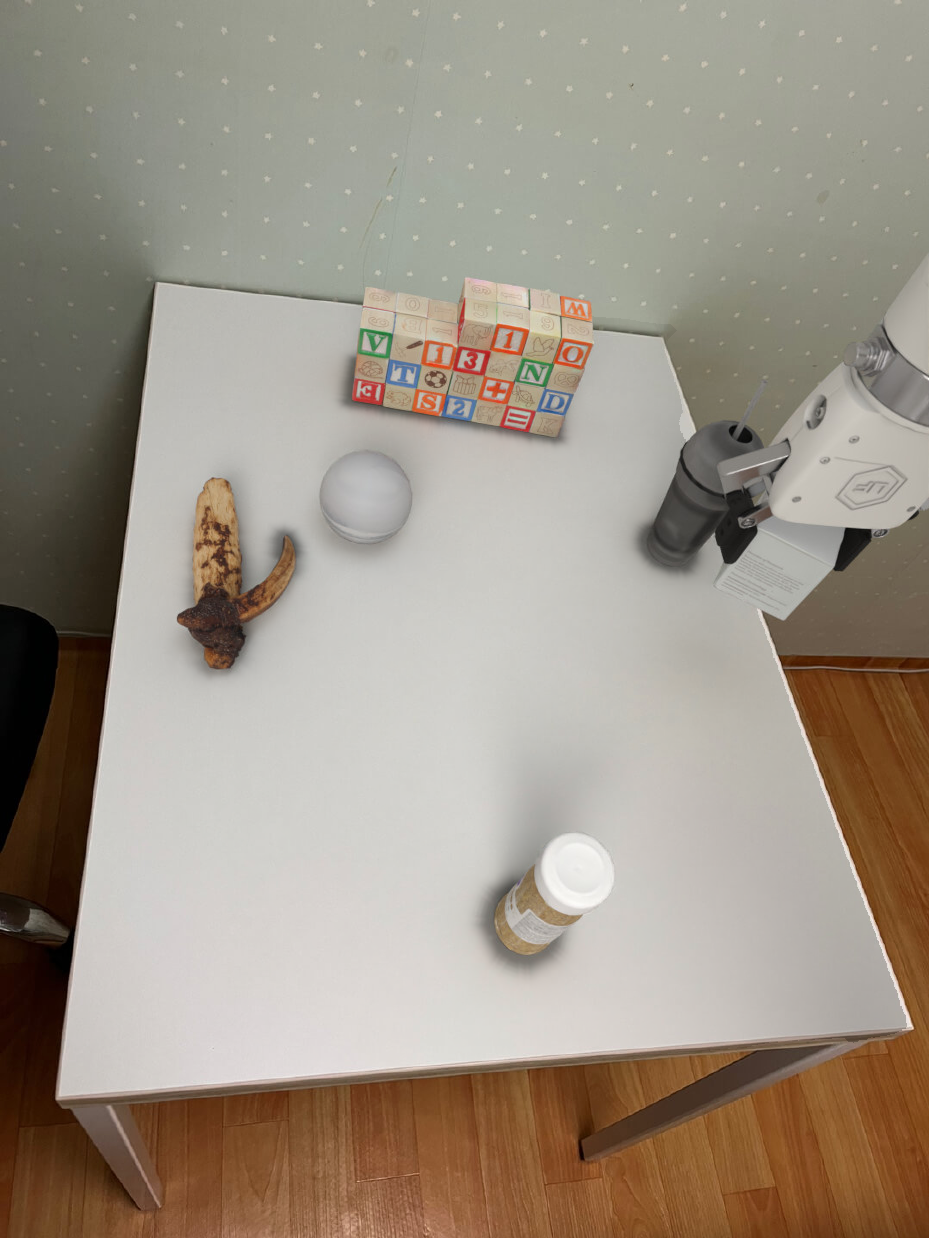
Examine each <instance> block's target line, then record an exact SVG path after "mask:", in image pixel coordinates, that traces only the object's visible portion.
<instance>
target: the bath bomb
mask: <svg viewBox="0 0 929 1238" xmlns="http://www.w3.org/2000/svg"><path fill="white" fill-rule="evenodd" d="M318 495H319V496H318V498H319V507H320V511H321V514H322V516H323V518H324V520H325V522H326V523H327V525H328V526H329V527H330V528H331V530H333V531H334V532H335V533H336V534H337V535H338V536H339V537H341V538H342V539H344V540H347V541H350V542H352V543H356V544H360V545H374V544H378V543H382V542H384V541H386V540H388V539H390V538H392V537H393V536H395V535H396V534H398V532H399V531H401V529H402V528H403V527H404V526H405V524H406V523H407V521H408V519H409V517H410V514H411V513H412V512H411V511H412V508H413V489H412V485H411V481H410V479H409V477H408V475H407V473H406V471H405V470H404V469H403V467H402V466H401V465H400V464H399V463H398V462H397V461H396V460H395V459H393V458H391V457H390V456H388V455H386V454H384V453H381V452H380V451H379V452H378V451H375V450H367V449H365V450H364V449H363V450H356V451H352V452H349V453H346V454H344V455H343V456H340V457H339V458H337V460H335V462H333V463H332V464H330V466H329V467H328V469H327V470H326V472H325V473H324V476H322V480H321V482H320V487H319V494H318Z"/></svg>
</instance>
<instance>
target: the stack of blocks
mask: <svg viewBox="0 0 929 1238" xmlns="http://www.w3.org/2000/svg"><path fill="white" fill-rule="evenodd" d="M594 341H595V340H594V324H593V312H592V302H591V301H589V300H585V299H581V298H580V299H579V298H575V297H570V296H565V295H560V293H558V292H553V291H548V290H543V289H538V288H527V287H524V286H519V285H514V284H508V283H507V284H506V283H502V282H498V283H497V282H494V281H490V280H484V279H479V278H473V277H467V276H465V277H464V280H463V284H462V287H461V292H460V295H459V300H458V302H457V303H456V302H450V301H445V300H441V299H435V298H430V297H426V296H422V295H415V294H410V293H405V292H401V291H398V292H397V291H392V290H388V289H383V288H378V287H372V286H365V289H364V296H363V303H362V310H361V317H360V323H359V330H358V336H357V346H356V360H355V367H354V374H353V377H354V378H353V384H352V392H351V400H352V401H354V402H360V403H365V404H366V403H367V404H372V405H379V406H382V407H385V408H391V409H395V410H402V411H409V412H413V413H419V414H423V415H429V416H436V417H442V418H443V417H444V418H448V419H449V418H450V419H454V420H460V421H467V422H473V423H479V424H484V425H489V426H496V427H499V428H504V429H509V430H514V431H519V432H524V433H525V432H526V433H530V434H534V435H540V436H545V437H550V438H551V437H552V438H557V437H558V436H559V433H560V431H561V427H562V425H563V424H564V421H565V418H566V414H567V412H568V410H569V407H570V405H571V403H572V401H573V398H574V396H575V394H576V392H577V390H578V388H579V386H580V383H581V381H582V378H583V376H584V373H585V369H586V368H585V367H586V364H587V361H588V358H589V357H590V355H591V352H592V349H593V347H594V344H595V342H594Z"/></svg>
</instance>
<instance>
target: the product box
mask: <svg viewBox="0 0 929 1238" xmlns="http://www.w3.org/2000/svg"><path fill="white" fill-rule="evenodd" d="M761 494H762V495H761V496H760V497H759V499H758V500H757V501H756V503H755V504H754V507H755V506H757V505H759V504H760V503H762V502H764V501H766V500H768V498H769V497H768V494H767V491H766V490H765V491H764V492H762V493H761ZM756 526H757V529H758V532H757V535H756V536H755V537H754V539H753V540H752V541H751V543H750V544H749V545H748V547H747V548H746V549H745V551H744V552H743V553H742V555H741V556H740V557H739V559H738V560H737V561H736V562H735V563H733V564H725V563H724V561H723V562H722V563H721V566H720V569H719V571H718V572H717V575H716V577H715V579H714V582H713V584H712V585H713V586H714V588H715V589H717V590H719V591H721V592H723V593H725V594H728V595H730V596H732V597H734V598H736V599H738V600H739V601H742V602H745V603H746V604H748V605H750V606H752V607H755V608H756V609H757V610H758V609H759V610H760V611H762V612H764V613H767V614H768V615H771V616H772V617H773V618H774V617H775V618H777V619H778V620H781V621H786V620H787V618H788V617H789V616H790V615H791V614H793V612H794V611H795V610H796V608H798V606H800V604H801V603H803V601H804V600H805V599H806V598H807V597H808V596H809V595H810V594H811V593H812V591H813V590H815V588H816V587H817V586H818V585H819V584H820V583H821V582H823V580H824V579H825V578H826V577H827V576H828V575H829V573H830V572H831V571H832V570H833V568H834V566H835V563H836V559H837V555H838V552H839V548H840V545H841V542H842V540H843V537H844V531H845V528H846V527H835V526H823V525H812V524H802V523H793V522H788V521H784V520H781V519H779V518H777V517H775V516H774V515H773V516H772V517H770V518H768V519H766V520H764V521H762V522H760V523H759V524H757V525H756Z"/></svg>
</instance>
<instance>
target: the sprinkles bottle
mask: <svg viewBox="0 0 929 1238" xmlns="http://www.w3.org/2000/svg"><path fill="white" fill-rule="evenodd" d="M615 882H616V868H615V863H614V860H613V858H612V856H611V854H610V852H609V850H608V849H607V848H606V847H605V846H604V844H603V843H602V842H601V841H600V840H598V838H596V837H594V836H592V835H590V834H588V833H584V832H580V831H568V832H567V831H566V832H564V833H563V832H562V833H560V834H558V835H556V836H554V837H553V838H551V840H550V841H548V843H547V844H546V845H545V846H544V847H543V848H542V850H541V851H540V852H539V854H538V855H537V857H536V860H535V863H534V864H533V865H532V866H531V867H529V868H528V870H527V871H526V872H525V873H524V874H523V876H522V877H521V878H520V879H518V881H517V882H516V883H515V884H514V885H513V887H511V889H510V890H509V891H508V893H505V894H504V895H503V897H502V898H501V899H499V902H498V903H497V904H496V908H495V910H494V919H493V924H494V927H495V932H496V934H497V936H498V938H499V940H500V941H501V942H502V943H503V945H504V946H505V947H506V948H507V949H508V950H510V951H512V952H514V953H516V954H518V955H521V956H522V955H523V956H525V955H526V956H532V955H536V954H538V953H541V952H542V951H543V950H545V949H546V948H547V947H548V946H549V945H550V944H551V942H553V941H554V940H556V939H558V937H560V936H562V934H564V933H565V932H566V931H567V930H568V929H570V928H571V927H572V926H573V925H575V924H576V923H577V922H578V921H579V920H580V919H581V918H583V916H584V915H586V914H589V913H591V912H593V911H594V910H596V909H597V908H598V907H600V906H602V904H603V903H604V902H605V901H606V900H607V899H608V898H609V896H610V895H611V893H612V892H613V890H614V886H615Z"/></svg>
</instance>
